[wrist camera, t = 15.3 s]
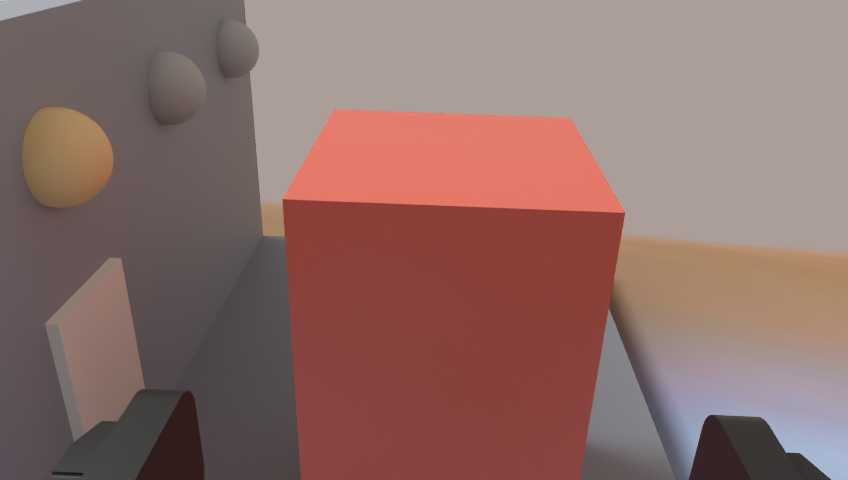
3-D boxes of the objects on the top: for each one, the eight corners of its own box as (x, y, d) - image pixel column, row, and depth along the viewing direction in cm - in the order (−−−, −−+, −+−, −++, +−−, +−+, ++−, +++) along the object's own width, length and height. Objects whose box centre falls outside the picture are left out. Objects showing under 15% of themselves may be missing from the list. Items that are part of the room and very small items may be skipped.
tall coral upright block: (307, 586, 16) (282, 199, 12) (342, 418, 22) (333, 109, 18) (559, 598, 16) (625, 213, 12) (531, 427, 22) (570, 118, 17)
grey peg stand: (-30, 692, 15) (-295, 62, 9) (235, 261, 34) (204, -41, 28) (744, 737, 15) (991, 111, 9) (582, 276, 34) (626, -27, 28)
